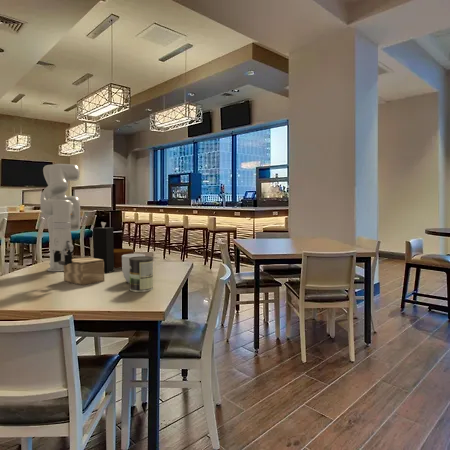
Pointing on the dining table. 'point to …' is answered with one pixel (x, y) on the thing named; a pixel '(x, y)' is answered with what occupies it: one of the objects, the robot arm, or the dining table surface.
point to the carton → (84, 273)
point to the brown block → (120, 256)
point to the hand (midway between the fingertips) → (62, 262)
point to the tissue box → (104, 246)
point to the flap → (81, 260)
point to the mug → (127, 265)
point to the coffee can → (141, 273)
